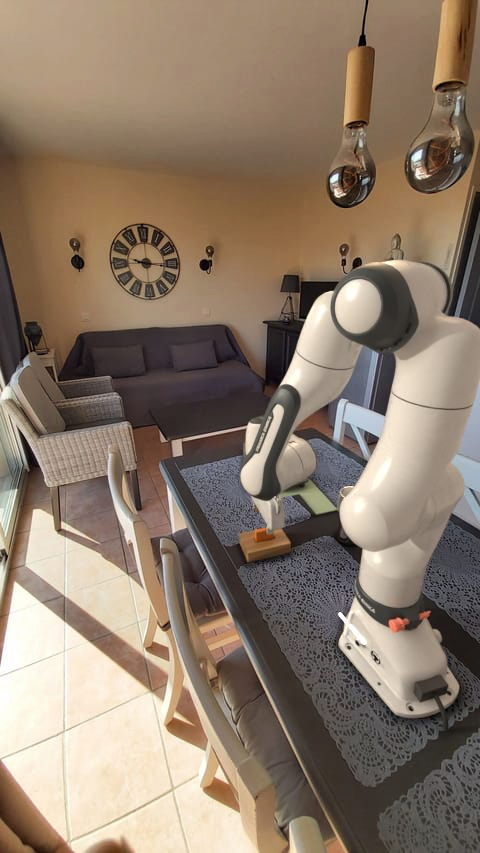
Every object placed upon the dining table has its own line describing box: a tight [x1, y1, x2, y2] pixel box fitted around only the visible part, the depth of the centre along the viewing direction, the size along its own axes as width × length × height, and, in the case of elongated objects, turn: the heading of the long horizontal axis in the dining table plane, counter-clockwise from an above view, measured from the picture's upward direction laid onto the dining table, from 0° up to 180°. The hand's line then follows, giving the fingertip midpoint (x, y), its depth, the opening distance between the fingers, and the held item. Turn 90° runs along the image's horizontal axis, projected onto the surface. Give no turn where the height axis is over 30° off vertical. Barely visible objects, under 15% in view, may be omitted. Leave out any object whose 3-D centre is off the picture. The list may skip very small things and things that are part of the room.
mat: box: [278, 477, 338, 516], centre depth 120 cm, size 20×20×1 cm
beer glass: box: [336, 485, 356, 546], centre depth 99 cm, size 7×7×15 cm
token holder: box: [238, 528, 292, 563], centre depth 98 cm, size 8×12×4 cm, turn 107°
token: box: [254, 527, 274, 543], centre depth 97 cm, size 1×5×6 cm, turn 107°
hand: (263, 521), depth 95 cm, fingers open, 8 cm apart
